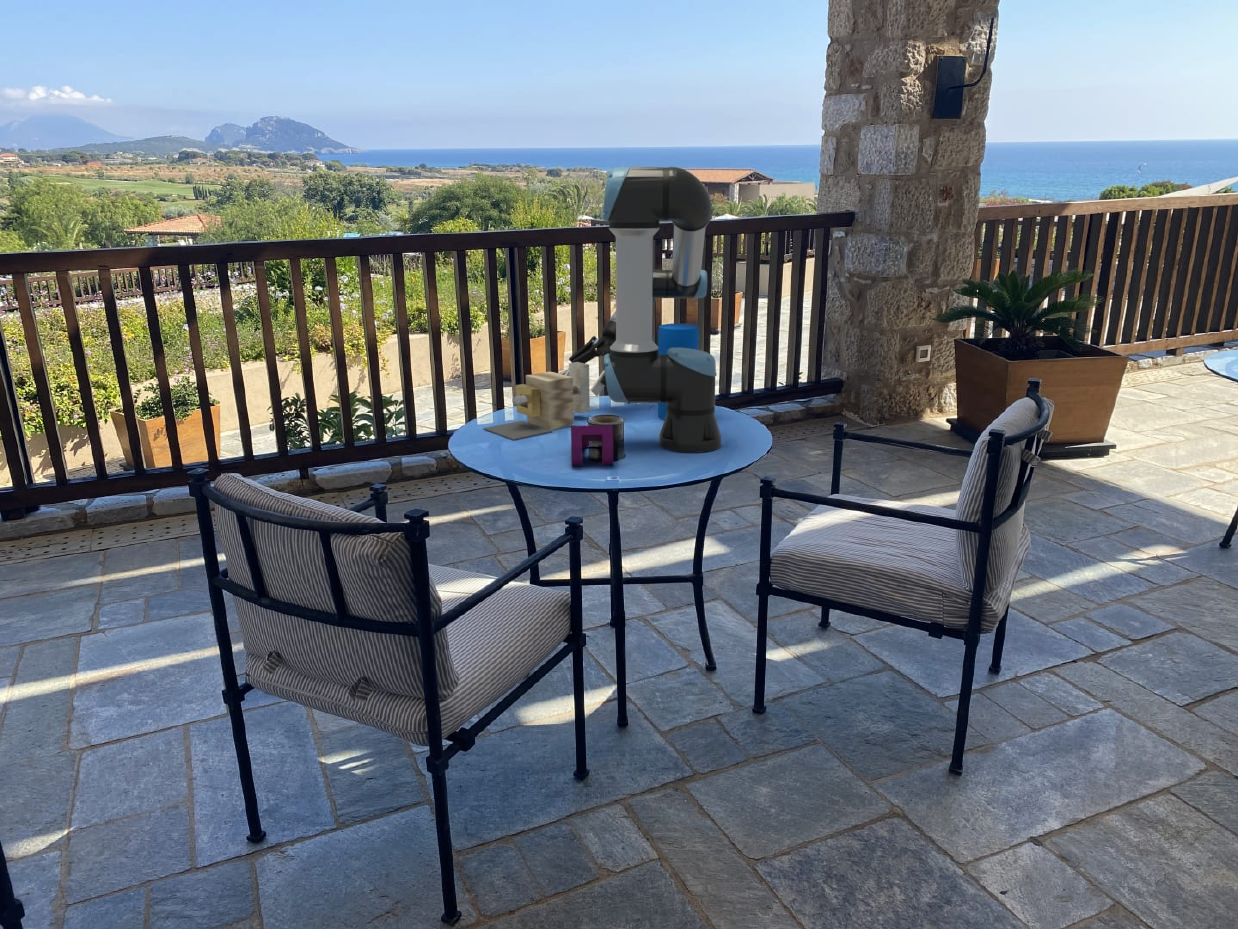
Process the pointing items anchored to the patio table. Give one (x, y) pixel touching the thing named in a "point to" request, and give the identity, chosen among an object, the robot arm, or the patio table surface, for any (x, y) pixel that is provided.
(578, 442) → the mounting bracket
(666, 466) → the patio table surface
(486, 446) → the patio table surface
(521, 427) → the rubber mat
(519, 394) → the brass spacer
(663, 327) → the tall blue cylinder
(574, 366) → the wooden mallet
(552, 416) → the wooden block
